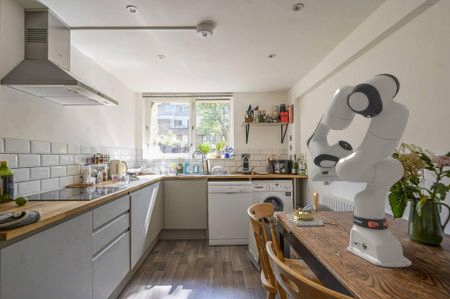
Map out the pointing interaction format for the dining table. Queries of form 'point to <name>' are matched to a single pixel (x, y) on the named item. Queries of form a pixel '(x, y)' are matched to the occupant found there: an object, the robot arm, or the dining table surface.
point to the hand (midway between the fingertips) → (325, 184)
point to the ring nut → (307, 213)
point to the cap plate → (304, 221)
